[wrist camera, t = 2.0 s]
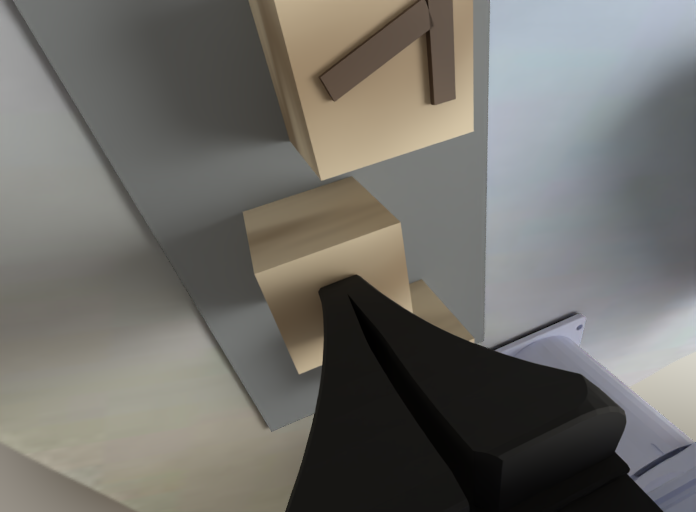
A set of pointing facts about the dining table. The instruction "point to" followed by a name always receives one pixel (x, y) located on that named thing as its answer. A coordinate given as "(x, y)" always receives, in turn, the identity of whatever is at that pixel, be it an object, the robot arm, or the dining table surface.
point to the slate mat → (250, 166)
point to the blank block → (322, 257)
